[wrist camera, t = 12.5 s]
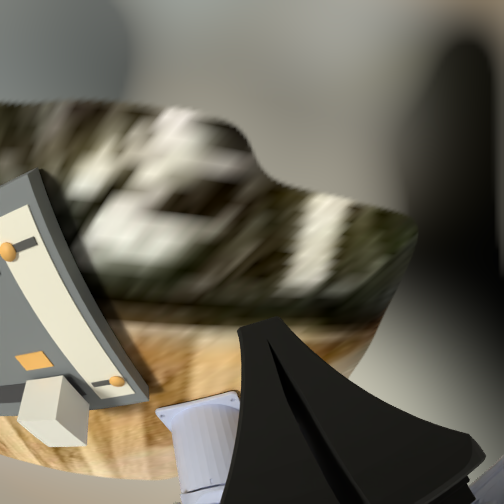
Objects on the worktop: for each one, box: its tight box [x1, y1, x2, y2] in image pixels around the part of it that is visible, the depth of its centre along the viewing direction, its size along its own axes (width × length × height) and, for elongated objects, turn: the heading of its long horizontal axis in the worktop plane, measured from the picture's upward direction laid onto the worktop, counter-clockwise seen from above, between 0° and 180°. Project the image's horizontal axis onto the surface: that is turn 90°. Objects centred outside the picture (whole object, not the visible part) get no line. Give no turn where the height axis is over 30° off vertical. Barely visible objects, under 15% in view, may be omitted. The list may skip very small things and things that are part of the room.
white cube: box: [17, 375, 89, 447], centre depth 17 cm, size 4×4×4 cm
